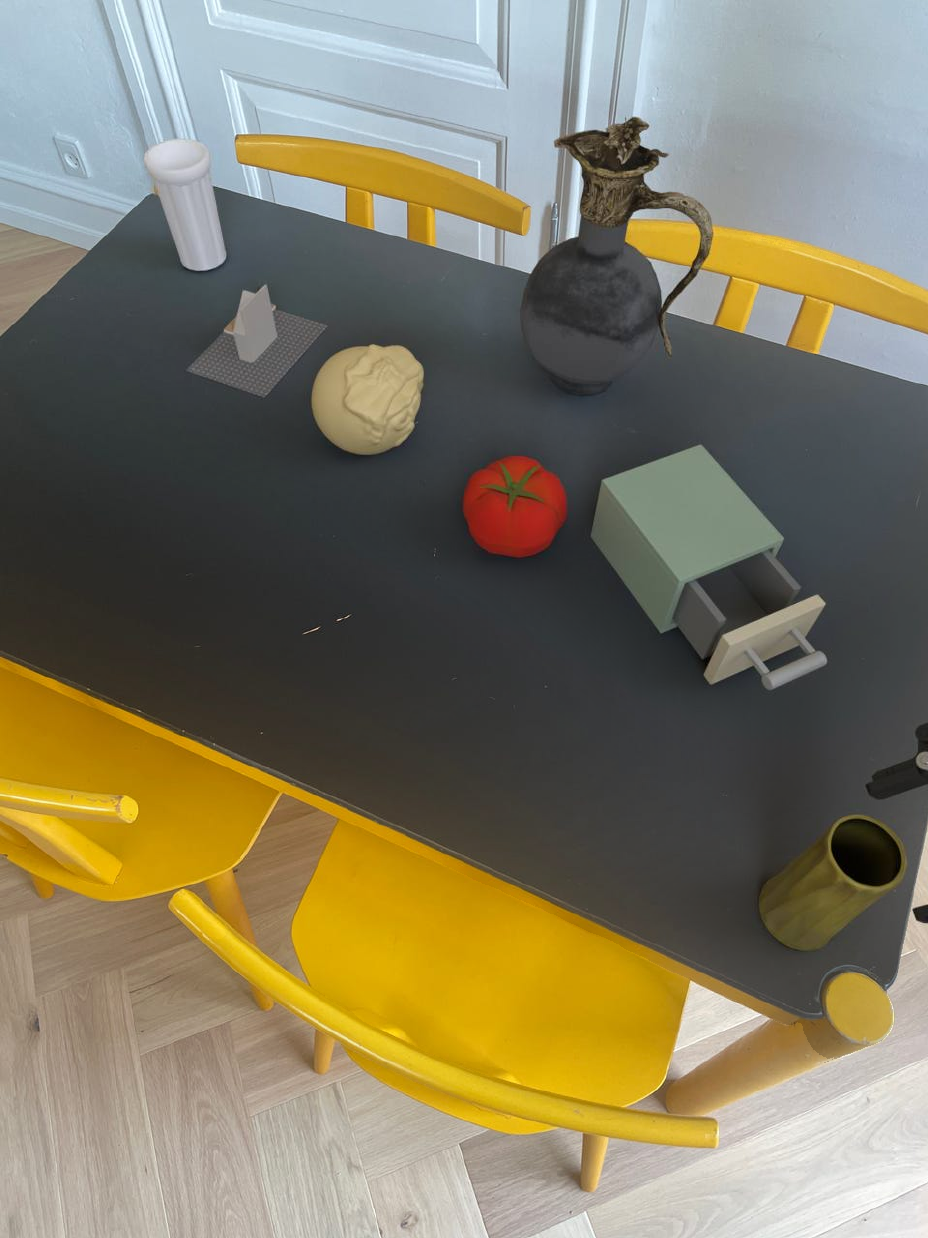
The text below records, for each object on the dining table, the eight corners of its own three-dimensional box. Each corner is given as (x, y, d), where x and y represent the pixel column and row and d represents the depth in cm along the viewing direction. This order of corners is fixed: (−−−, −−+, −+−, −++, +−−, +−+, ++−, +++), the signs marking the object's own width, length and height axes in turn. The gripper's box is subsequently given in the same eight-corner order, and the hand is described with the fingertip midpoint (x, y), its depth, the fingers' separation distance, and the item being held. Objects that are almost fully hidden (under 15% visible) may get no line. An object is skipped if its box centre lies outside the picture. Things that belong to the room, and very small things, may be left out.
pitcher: (537, 333, 109) (562, 77, 85) (681, 375, 105) (752, 120, 80) (503, 384, 104) (519, 127, 79) (654, 432, 99) (721, 176, 75)
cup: (193, 284, 114) (163, 179, 103) (163, 257, 118) (130, 151, 106) (245, 262, 117) (221, 156, 106) (214, 235, 121) (188, 131, 109)
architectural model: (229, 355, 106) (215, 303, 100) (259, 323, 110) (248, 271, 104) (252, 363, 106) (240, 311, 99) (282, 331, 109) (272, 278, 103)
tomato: (511, 478, 95) (515, 427, 89) (583, 534, 91) (593, 485, 84) (439, 527, 91) (438, 477, 85) (511, 589, 86) (515, 541, 80)
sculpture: (390, 483, 95) (384, 408, 86) (299, 446, 98) (283, 370, 89) (439, 419, 100) (438, 342, 91) (351, 386, 103) (342, 309, 94)
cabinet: (757, 593, 86) (784, 538, 79) (660, 633, 84) (679, 581, 76) (682, 501, 93) (701, 443, 86) (590, 536, 90) (601, 479, 83)
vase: (755, 940, 67) (819, 885, 56) (759, 865, 71) (820, 798, 59) (835, 960, 67) (917, 907, 55) (835, 883, 70) (912, 818, 58)
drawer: (829, 679, 80) (857, 639, 74) (737, 721, 77) (759, 684, 72) (724, 552, 88) (742, 508, 83) (638, 586, 86) (651, 543, 80)
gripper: (1093, 641, 51) (834, 742, 59) (1238, 881, 43) (913, 957, 51) (1121, 679, 55) (877, 768, 64) (1256, 902, 47) (956, 968, 56)
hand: (893, 852), depth 58 cm, fingers open, 8 cm apart
